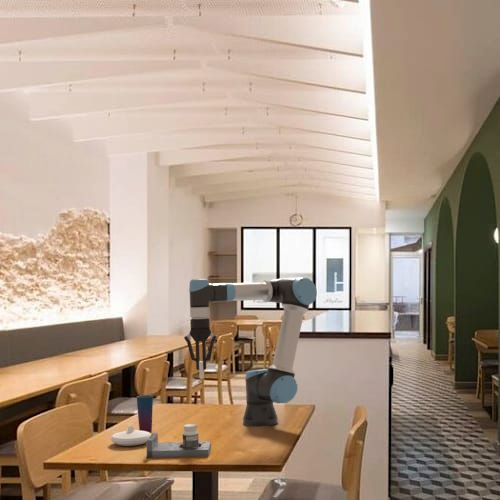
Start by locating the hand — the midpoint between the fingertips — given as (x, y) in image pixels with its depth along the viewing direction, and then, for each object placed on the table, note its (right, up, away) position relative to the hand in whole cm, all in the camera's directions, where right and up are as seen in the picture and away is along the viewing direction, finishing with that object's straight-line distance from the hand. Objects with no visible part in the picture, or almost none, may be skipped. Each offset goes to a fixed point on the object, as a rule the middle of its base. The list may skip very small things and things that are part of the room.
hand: (201, 378), depth 283 cm
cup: (-25, -26, +19) cm, 41 cm away
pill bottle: (-2, -24, -20) cm, 31 cm away
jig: (-7, -24, -20) cm, 32 cm away
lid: (-27, -26, -2) cm, 37 cm away
